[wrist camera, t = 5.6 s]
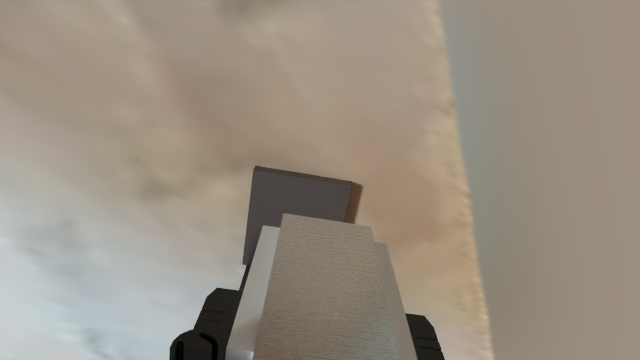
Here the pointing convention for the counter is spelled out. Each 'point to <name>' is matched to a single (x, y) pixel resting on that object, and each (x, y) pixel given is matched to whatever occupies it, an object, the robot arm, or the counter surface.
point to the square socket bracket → (290, 203)
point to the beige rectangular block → (325, 295)
